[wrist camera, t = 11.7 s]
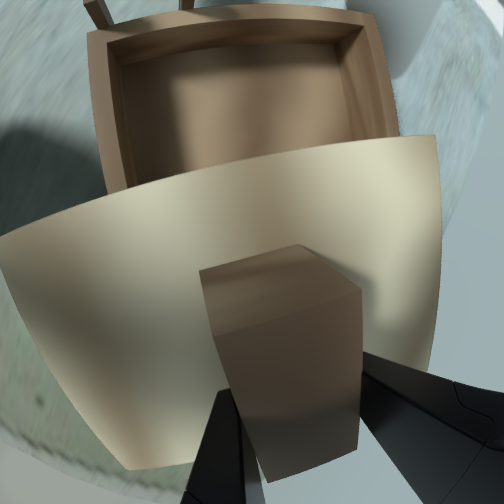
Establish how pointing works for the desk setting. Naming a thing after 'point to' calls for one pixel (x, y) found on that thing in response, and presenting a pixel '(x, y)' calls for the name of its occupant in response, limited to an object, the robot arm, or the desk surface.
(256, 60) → the box
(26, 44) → the desk surface
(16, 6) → the desk surface
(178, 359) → the lid
